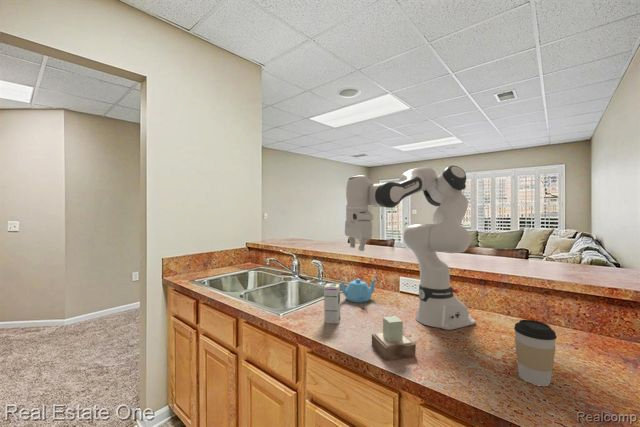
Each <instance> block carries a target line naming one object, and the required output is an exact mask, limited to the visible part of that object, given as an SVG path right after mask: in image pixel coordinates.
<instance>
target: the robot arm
mask: <svg viewBox="0 0 640 427" xmlns="http://www.w3.org/2000/svg"><path fill="white" fill-rule="evenodd" d="M466 183H467V174H466V172H465V171H464V169H463V168H461V167H459V166H457V165H449V166H447V167H446V168H444V169H443V170H442V172H441V173H440V174H439V175H437V173H436V170H434V169H433V168H432V167H430V166H422V167H420V166H419V167H416V168H412V169H409V170H407V171H405V172H403V173H402V174H401V175H400V177H399V180H398V182H394V181H388V182H383V183H382V182H381V183H374V182H373V181H371V180H370V179H369V178H368V177H367V175H365V174H361V175H355V176H351V177H349V178H348V179H347V182H346V186H345V187H346V188H345V189H346V190H345V191H346V192H345V193H346V194H345V198H346V207H345V209H346V210H345V213H346V214H345V219H346V220H345V223H344V235H345V236H346V237H348V241H349V248H352V249H355V248H356V243H355V239H357V240H359V245H358V251H359V252H364V251H365V247H366V243H367V241H370V240H371V239H372V236H373V222H372V221H373V219H374V215H373V214H372V213H371V212H370V211H369V208H389V209H392V208H395V207H396V206H398V205H399V204H400V202H401V201H403V200H404V199H405V198H406V197H409V196H411V195H414V194H417V193H421V192H423V196H424V198H425V199H426V201H427V202H428V203H429V204H430V205H432V206H434V207H437V209H436V210H435V211H434V213H433V215H432V221H433V223H417V224H410V225H408V226H407V227H406V229H405V230H404V232H403V241H404V243H405V245H406V246H407V247H408V248H409V249H410V250H411V251H412V252H413V254H414V255H415V257H416V259H417V262H418V267H419V284H418V296H419V297H418V298H419V300H418V301H419V302H418V308H417V312H416V316H415V319H416V321H417V322H419V323H420V324H422V325H425V326H429V327H434V328H439V329H444V330H446V331H447V330H448V331H452V330H455V329H459V328H460V329H461V328H464V327H467V326H473V325H475V324H476V320H475V319H474V318H473V317H471V316H470V314H469V309H468V306H466V304H465V303H463V302H462V301H461V300H460V299H459V298H457V297H455V295H454V294H456V295H457V294H459V288H457V287H452V286H450V284H451V283H450V282H451V279H450V278H451V276H450V274H451V273H450V272H451V271H450V270H451V269H450V267H449V265H448V264H447V263H445V262H444V261H443V260H441V259H440V258H439V257H438V255H437V253H445V254H458V253H464V252H466V251H467V250H468V249H469V246H470V244H471V235H470V232H469V231H468V230H467V229H466V227H464V226H462V225H461V224H462V222H463V219H464V218H465V215H466V214H467V210H468V206H469V200H468V198H467V197H466V195H465V194H464V193H463V190H465V189H466V188H467V186H466Z"/></svg>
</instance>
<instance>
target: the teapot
mask: <svg viewBox="0 0 640 427" xmlns="http://www.w3.org/2000/svg"><path fill="white" fill-rule="evenodd" d="M377 280H378V278H374V279H372V281H371V283H370V287H369V285H368V284H367V282H366V281H363V280H362V279H361V278H356V279H354V280H351V281H350V282H349V283H348V285H347V286H345V282H344V281H342V280H338V281H339V283H340V286H341V291H342V294H343V295H344V296H345V298H346V300H347V301H349V302H351V303H356V304H357V303H361V304H362V303H366V302H369V301H370V300H371V298H372V294H373V293H374V291H375V282H376V281H377Z"/></svg>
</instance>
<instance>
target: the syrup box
mask: <svg viewBox="0 0 640 427" xmlns="http://www.w3.org/2000/svg"><path fill="white" fill-rule="evenodd" d="M323 307H324V309H323V310H324V313H323V314H324V317H323V320H324V321H323V322H324V323H326V324H337V325H338V324H339V322H340V320H341V283H335V282H334V283H332V282H331V283H326V284H325V285H324V287H323Z"/></svg>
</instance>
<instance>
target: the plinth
mask: <svg viewBox="0 0 640 427" xmlns="http://www.w3.org/2000/svg"><path fill="white" fill-rule="evenodd" d="M371 346H372V347H373V348H374V349H375V351H377V353H378V354H379V355H380V356H381V357H382V358H383V359H384V361H390V360H398V359H399V360H400V359H405V358H411V357H412V358H413V357H416V355H417V354H416V346H417V345H416V343H414V342H413V341H412V340H411V339H409V338H408V337H407V336H405V334H403V340H400V341H392V342H389V341H388V340H387V339H386V338H385V337H384V336H383V332H378V333H372V334H371Z"/></svg>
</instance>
